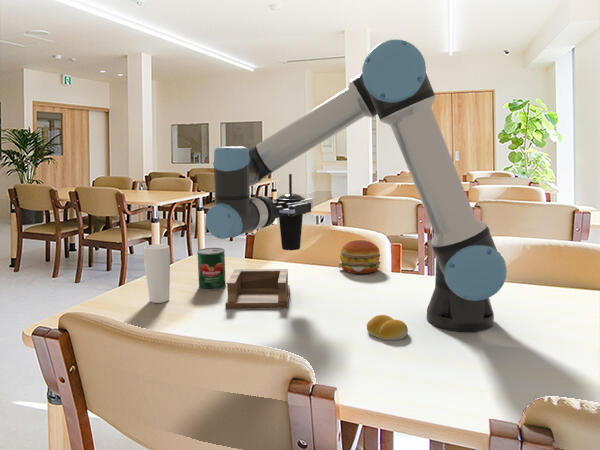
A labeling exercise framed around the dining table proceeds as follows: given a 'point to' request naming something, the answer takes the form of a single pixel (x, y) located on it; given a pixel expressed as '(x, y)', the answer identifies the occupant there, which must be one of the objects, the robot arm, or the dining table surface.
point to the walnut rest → (258, 289)
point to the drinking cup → (290, 222)
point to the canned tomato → (211, 269)
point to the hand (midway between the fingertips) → (298, 202)
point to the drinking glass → (157, 272)
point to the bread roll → (387, 328)
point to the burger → (360, 257)
